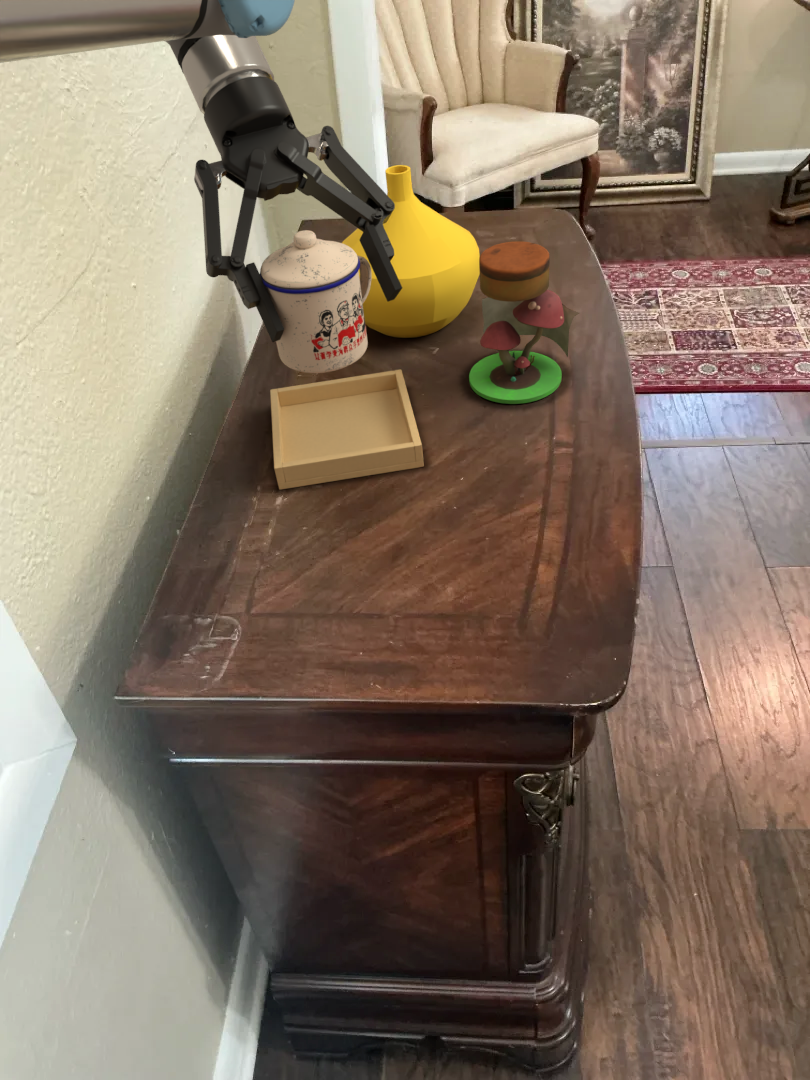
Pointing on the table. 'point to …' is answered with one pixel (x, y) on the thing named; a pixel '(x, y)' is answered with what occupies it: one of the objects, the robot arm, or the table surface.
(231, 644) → the table surface
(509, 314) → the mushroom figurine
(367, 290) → the teacup with lid
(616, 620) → the table surface
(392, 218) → the vase
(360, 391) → the wooden tray
